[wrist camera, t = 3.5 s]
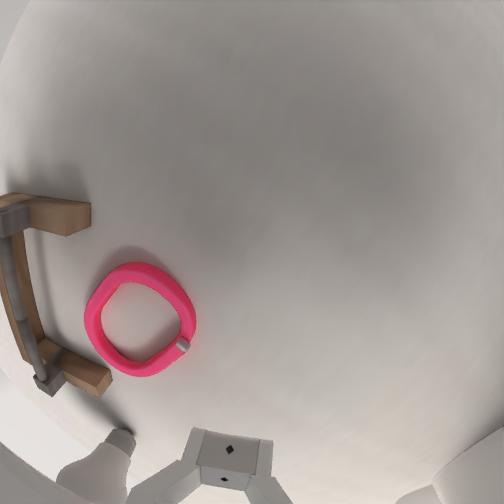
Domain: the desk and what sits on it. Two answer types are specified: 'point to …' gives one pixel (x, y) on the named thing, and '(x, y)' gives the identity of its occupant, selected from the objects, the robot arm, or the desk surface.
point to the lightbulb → (101, 470)
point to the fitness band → (162, 285)
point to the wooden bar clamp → (21, 294)
